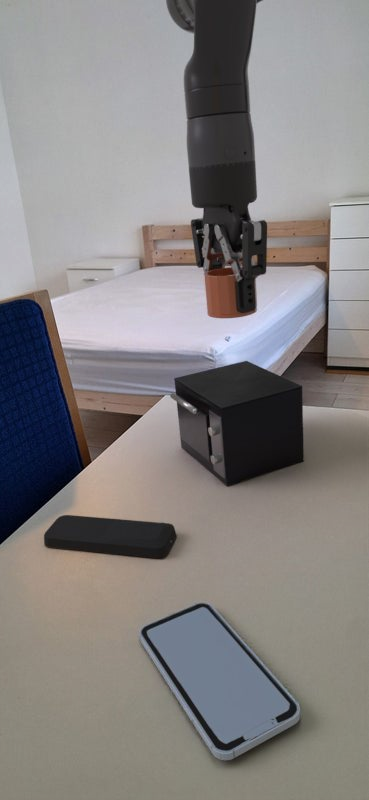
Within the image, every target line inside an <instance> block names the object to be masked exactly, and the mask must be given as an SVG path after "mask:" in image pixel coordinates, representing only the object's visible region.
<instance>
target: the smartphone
mask: <svg viewBox="0 0 369 800" xmlns="http://www.w3.org/2000/svg"><path fill="white" fill-rule="evenodd" d="M138 636H139V641H140V643H141V644H142V646H143V648H144V649H145V651H146V653H147V654H148V656H149V657H150V659H151V660H152V661H153V663H154V665H155V666H156V668H157V669H158V671H159V672H160V675H162V677H163V679H164V680H165V682H166V683H167V685H168V686H169V688H170V690H171V691H172V693H173V695H174V696H175V698H176V699H177V701H178V702H179V704H180V705H181V707H182V708H183V710H184V711H185V713H186V715H187V717H188V718H189V719H190V721H191V722H192V724H193V725H194V727H195V728H196V730H197V731H198V733H199V735H200V736H201V738H202V740H203V742H204V743H205V744H206V746H207V747H208V749H209V750H210V752H211V754H212V755H213V756H214V757H215V758H216V759H218V760H220V761H231V760H233V759H235V758H237V757H238V756H241V755H242V754H244V753H246V752H248V751H251V749H253V748H255V747H257V746H259V745H260V744H262V743H264V742H266V741H268V740H269V739H271V738H273V737H274V736H277V735H278V734H280V733H283V732H284V731H286V730H288V729H289V728H291V727H293V726H294V725H296V724H297V723H298V722H299V720H300V718H301V708H300V704H299V702H298V701H297V700H296V699H295V698H294V696H293V695H292V694H291V693H290V692H289V691H288V690H287V689H286V688H285V686H284V685H283V684H282V683H281V682H280V681H279V680H278V678H277V677H276V676H275V675H274V673H272V671H270V669H269V668H268V667H267V666H266V665H265V664H264V663H263V662H262V660H261V659H260V658H259V657H258V656H257V655H256V654H255V652H253V650H252V649H251V648H250V647H249V645H247V644H246V642H245V641H244V640H243V639H242V638H241V637H240V636H239V634H238V633H237V632H236V631H235V629H233V627H232V626H231V625H230V624H229V622H228V621H226V619H224V617H223V616H222V615H221V614H220V612H218V610H217V609H216V608H215V607H214V606H213V605H212V604H211V603H209V602H206V601H199V602H196V603H193V604H191V605H188V606H186V607H184V608H182V609H179V610H177V611H175V612H172V613H170V614H167V615H165V616H163V617H161V618H158V619H155V620H153V621H151V622H148V623H146V624H144V625H143V626H141V627H140V629H139V631H138Z"/></svg>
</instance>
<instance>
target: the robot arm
mask: <svg viewBox="0 0 369 800" xmlns="http://www.w3.org/2000/svg"><path fill="white" fill-rule="evenodd" d="M263 1H264V0H165V4H166V8H167V11H168V14H169V16H170V18H171V20H172V21H173V23H174V24H175V25H176V26H177V27H178V28H179V29H182V30H183V31H184V32H187V33H189V34H193V50H192V53H191V56H190V58H189V60H188V61H187V63H186V64H185V67H184V70H183V93H184V104H185V116H186V117H185V118H186V151H187V166H188V175H189V176H188V177H189V187H190V198H191V205H192V206H193V208H196V209H203V212H202V217H200V218H199V217H198V218H194V219H190V228H191V235H192V243H193V248H194V250H193V251H194V256H195V262H196V263H195V264H196V267H197V268H198V269H200V268H201V269H202V270H203V274H204V273H205V272H207V271H210V270H213V269H219V268H226V264H228V265H230V267H232V270H233V274H234V277H235V280H236V282H235V291H236V306H237V311H238V312H240V313H247V312H251V311H254V310H255V308H256V298H255V278H256V279H258V277H260V276H262V275H263V276H264V275H266V274H267V259H268V258H267V257H268V254H267V253H268V222H267V221H266V220H265V219H263V220H255V221H254V220H252V218H251V215H250V211H249V205H250V204H252V203H254V202H256V201H257V199H258V188H257V187H258V186H257V169H256V165H257V164H256V150H255V149H256V147H255V135H254V129H253V128H254V127H253V123H252V115H251V97H250V82H249V81H250V80H249V65H250V64H249V62H250V57H251V52H252V46H253V40H254V39H253V38H254V30H255V23H256V15H257V14H256V13H257V6H258V5H257V4H259V3H260V2H263ZM255 256H256V261H255V259H254V258H255ZM240 262H241V264H240ZM241 267H242V269H241Z"/></svg>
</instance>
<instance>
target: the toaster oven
mask: <svg viewBox="0 0 369 800" xmlns="http://www.w3.org/2000/svg"><path fill="white" fill-rule="evenodd" d="M173 380H174V387H175V388H174V390H175V392H171V393H170V396H169V397H170V398H171V399H172V400H174V401H175V402H176V406H177V407H176V409H177V419H178V427H179V428H178V429H179V437H180V438H179V439H180V447H181V449H183V450H184V451H185V452H186V453H187V454H189V456H190V457H192V458H193V459H194V460H195V461H197V463H199V464H200V465H201V466H203V467H204V468H205V469H206V470H207V471H209V472H210V473H211V474H212V475H213V476H215V478H217V479H218V480H219V481H220V482H221V483H222V484H223V485H225V486H226V487H230V486H233V485H236V484H239V483H242V482H245V481H249V480H251V479H254V478H258V477H261V476H263V475H267V474H270V473H272V472H275V471H279V470H281V469H285V468H288V467H291V466H294V465H297V464H300V463H303V462H304V461H305V457H304V456H305V454H304V453H305V452H304V417H303V416H304V408H303V406H304V403H303V386H302V385H301V384H299V383H296V382H294V381H292V380H290V379H288V378H286V377H284V376H281V375H280V374H277V373H275V372H273V371H270V370H268V369H266V368H264V367H262V366H259V365H258V364H254V363H253V362H250V361H248V360H243V361H239V362H235V363H231V364H227V365H223V366H219V367H215V368H210V369H206V370H203V371H198V372H194V373H190V374H186V375H181V376H178V377H174V378H173Z"/></svg>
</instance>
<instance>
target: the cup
mask: <svg viewBox="0 0 369 800" xmlns="http://www.w3.org/2000/svg"><path fill="white" fill-rule="evenodd" d="M241 269H242V266H241ZM235 282H236V280H235V277H234V274H233V270H232V267H231V266H227V267H226V266H225V268H219V269H213V270H210V271H207V272H205V273H204V272H203V283H204V292H205V293H204V294H205V306H206V315H207V316H208V317H209V318H213V319H238V318H244V317H247V316H251V315H253V314H255V313H257V312H258V293H257V278H255V298H256V308H255V310H254V311H251V312H247V313H240V312H238V311H237V306H236V291H235Z"/></svg>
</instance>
